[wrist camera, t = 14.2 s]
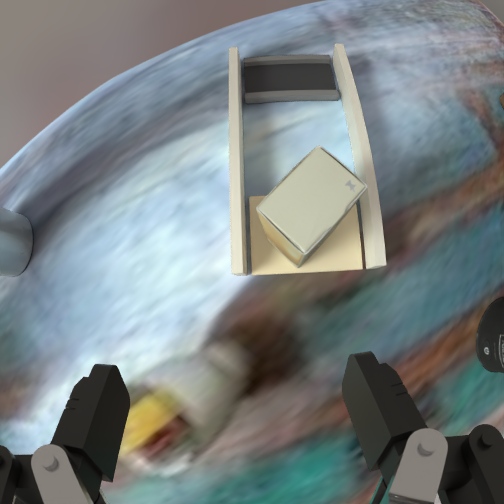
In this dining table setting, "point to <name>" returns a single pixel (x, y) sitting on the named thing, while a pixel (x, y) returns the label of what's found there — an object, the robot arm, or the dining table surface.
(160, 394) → the dining table surface
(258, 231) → the pad
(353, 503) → the dining table surface
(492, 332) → the milk frother
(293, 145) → the dining table surface
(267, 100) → the tray
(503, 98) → the display frame
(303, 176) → the skincare box
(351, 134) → the channel
